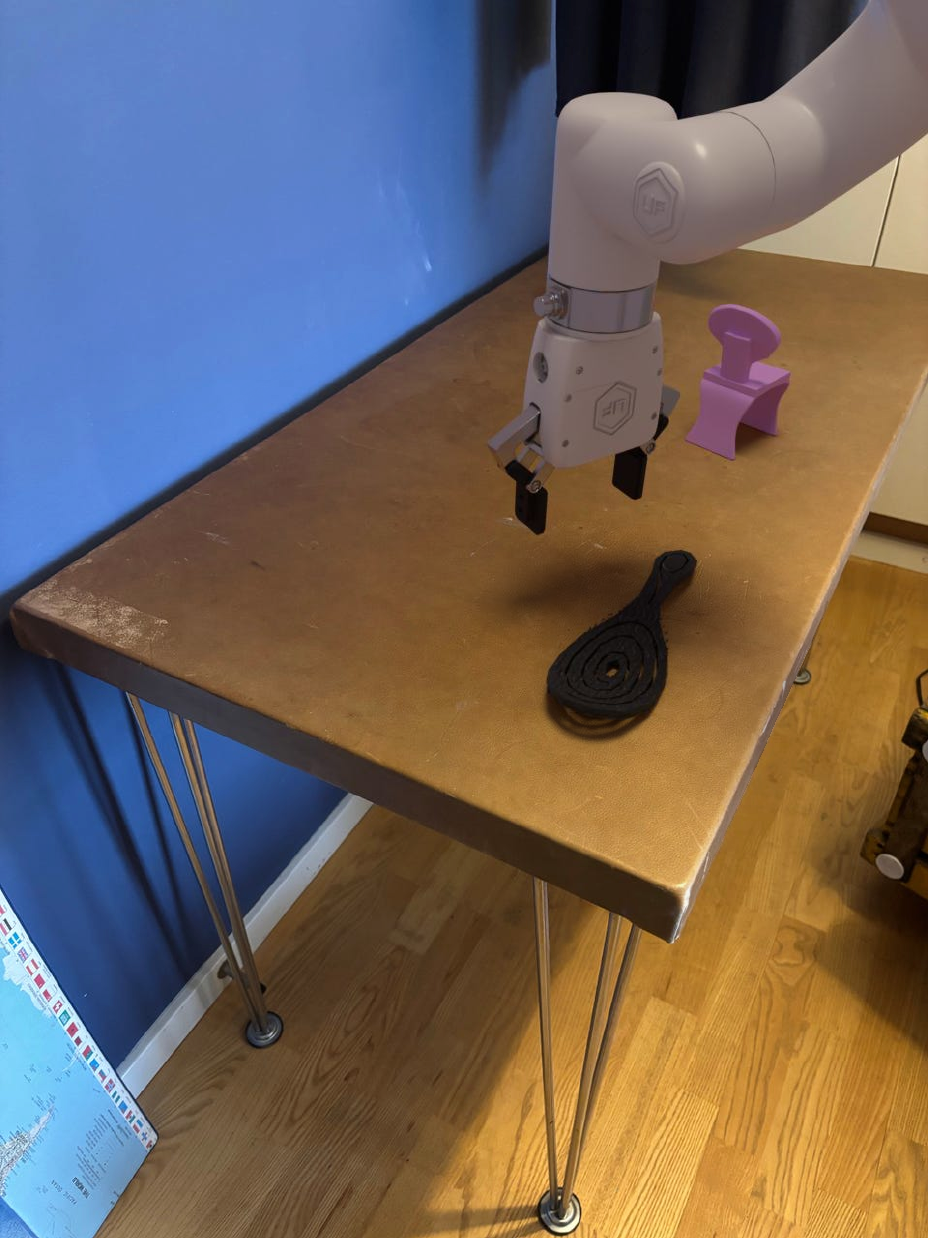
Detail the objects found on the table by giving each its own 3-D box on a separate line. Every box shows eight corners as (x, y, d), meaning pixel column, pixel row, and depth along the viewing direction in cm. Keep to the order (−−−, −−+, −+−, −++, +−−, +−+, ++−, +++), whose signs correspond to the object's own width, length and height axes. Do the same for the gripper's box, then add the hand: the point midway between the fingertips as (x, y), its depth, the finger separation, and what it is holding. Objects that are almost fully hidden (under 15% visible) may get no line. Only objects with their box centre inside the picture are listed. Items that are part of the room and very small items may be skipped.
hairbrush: (735, 544, 79) (635, 714, 61) (727, 579, 81) (628, 753, 63) (644, 519, 82) (523, 675, 64) (639, 554, 84) (521, 713, 66)
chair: (787, 436, 100) (820, 300, 90) (741, 463, 95) (770, 323, 86) (724, 411, 105) (749, 279, 95) (676, 436, 100) (698, 300, 91)
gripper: (527, 344, 57) (516, 564, 68) (730, 293, 64) (691, 500, 75) (465, 306, 62) (464, 517, 73) (660, 262, 69) (632, 461, 80)
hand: (579, 508), depth 74 cm, fingers open, 9 cm apart
